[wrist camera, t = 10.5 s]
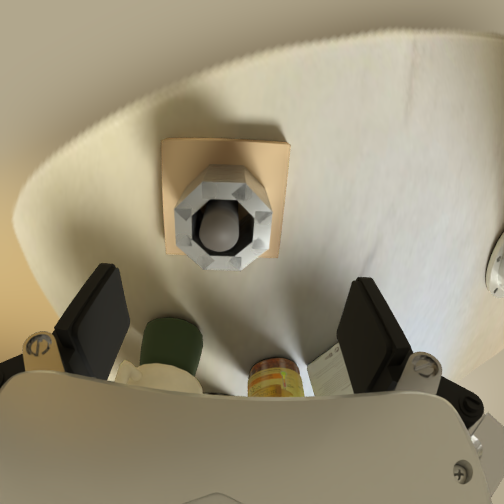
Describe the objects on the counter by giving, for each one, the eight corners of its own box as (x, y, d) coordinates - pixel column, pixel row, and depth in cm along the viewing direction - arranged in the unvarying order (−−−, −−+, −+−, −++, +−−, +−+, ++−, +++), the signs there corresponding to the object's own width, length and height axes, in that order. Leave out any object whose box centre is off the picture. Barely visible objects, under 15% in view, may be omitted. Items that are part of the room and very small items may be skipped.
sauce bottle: (271, 346, 31) (295, 528, 13) (309, 366, 33) (343, 522, 15) (234, 375, 33) (239, 535, 16) (272, 391, 35) (289, 534, 18)
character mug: (119, 305, 27) (75, 412, 16) (176, 284, 26) (147, 406, 15) (173, 370, 32) (159, 468, 21) (226, 357, 31) (226, 464, 20)
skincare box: (305, 365, 33) (329, 478, 20) (343, 335, 31) (384, 453, 18) (345, 384, 36) (373, 479, 23) (380, 359, 34) (420, 455, 20)
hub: (267, 166, 20) (275, 184, 16) (261, 238, 23) (266, 271, 19) (186, 163, 20) (172, 180, 15) (187, 235, 22) (177, 268, 18)
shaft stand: (287, 142, 21) (308, 159, 15) (275, 249, 25) (288, 300, 19) (166, 138, 20) (136, 154, 14) (169, 245, 24) (149, 295, 18)
